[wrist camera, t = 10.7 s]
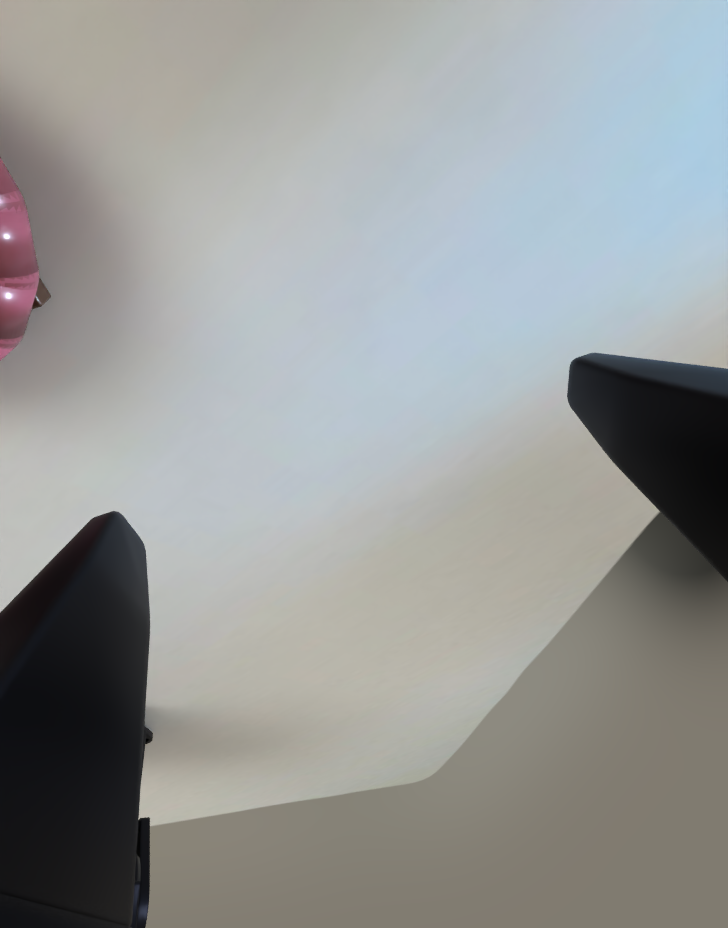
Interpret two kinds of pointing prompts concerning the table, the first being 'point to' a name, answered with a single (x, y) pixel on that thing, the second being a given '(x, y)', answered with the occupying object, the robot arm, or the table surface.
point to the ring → (15, 264)
